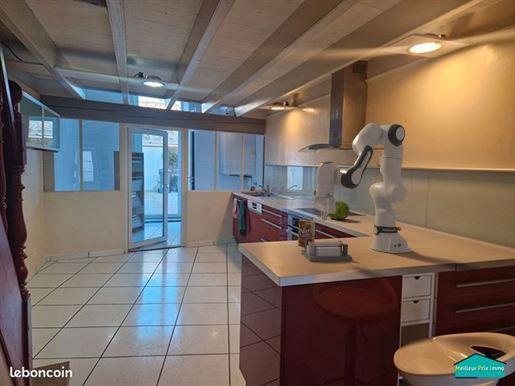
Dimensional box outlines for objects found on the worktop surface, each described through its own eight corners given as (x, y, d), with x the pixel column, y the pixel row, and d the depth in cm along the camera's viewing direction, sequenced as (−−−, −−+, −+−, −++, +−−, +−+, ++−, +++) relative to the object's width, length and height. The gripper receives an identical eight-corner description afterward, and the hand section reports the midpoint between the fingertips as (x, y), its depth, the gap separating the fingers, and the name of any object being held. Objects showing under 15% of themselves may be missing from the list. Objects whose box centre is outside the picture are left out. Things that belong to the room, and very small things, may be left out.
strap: (340, 243, 169) (340, 240, 169) (343, 245, 165) (343, 242, 165) (307, 244, 166) (307, 240, 166) (310, 246, 162) (310, 242, 162)
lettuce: (335, 217, 308) (331, 200, 308) (354, 217, 289) (350, 198, 288) (322, 222, 299) (319, 204, 298) (341, 222, 279) (337, 203, 278)
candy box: (297, 245, 189) (298, 220, 187) (300, 244, 192) (301, 219, 191) (311, 248, 184) (312, 222, 182) (314, 246, 187) (315, 221, 186)
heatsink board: (339, 253, 175) (340, 236, 174) (351, 260, 161) (352, 242, 160) (301, 253, 171) (302, 237, 170) (310, 261, 157) (311, 243, 156)
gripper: (339, 195, 153) (338, 223, 154) (323, 191, 173) (322, 216, 174) (327, 195, 152) (326, 223, 153) (312, 191, 172) (311, 216, 173)
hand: (324, 219), depth 164 cm, fingers closed
